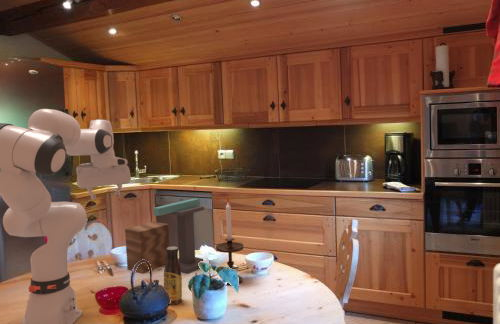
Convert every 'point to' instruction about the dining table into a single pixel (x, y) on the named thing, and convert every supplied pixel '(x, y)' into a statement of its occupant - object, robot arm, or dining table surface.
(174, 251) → the sauce bottle
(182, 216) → the dark grey pedestal stand
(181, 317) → the dining table surface
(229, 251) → the candlestick
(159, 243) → the walnut block
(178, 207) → the teal rod
